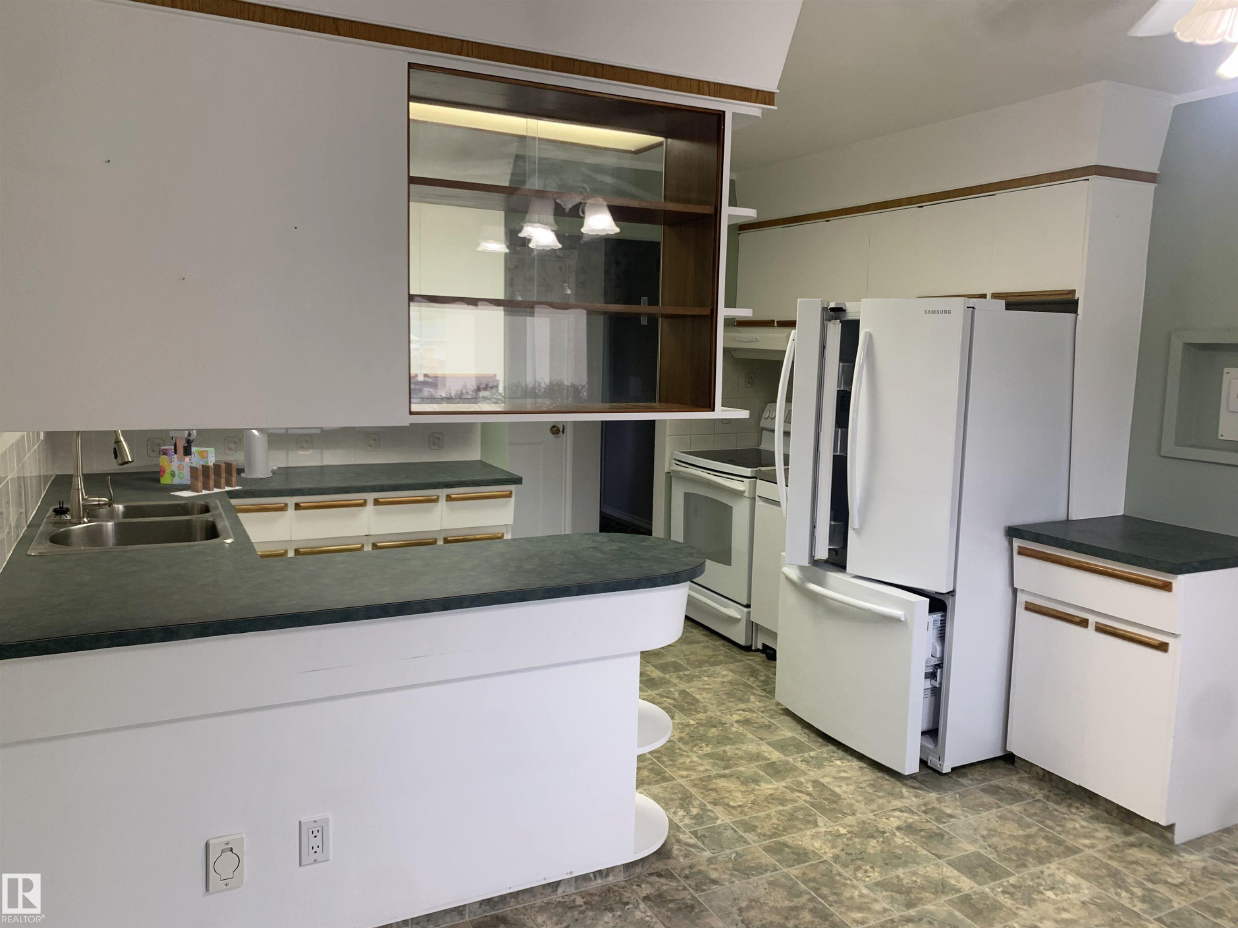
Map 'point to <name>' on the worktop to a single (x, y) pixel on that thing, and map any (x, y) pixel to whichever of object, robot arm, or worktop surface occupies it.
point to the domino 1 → (181, 450)
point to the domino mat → (189, 493)
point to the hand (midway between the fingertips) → (182, 454)
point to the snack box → (182, 464)
